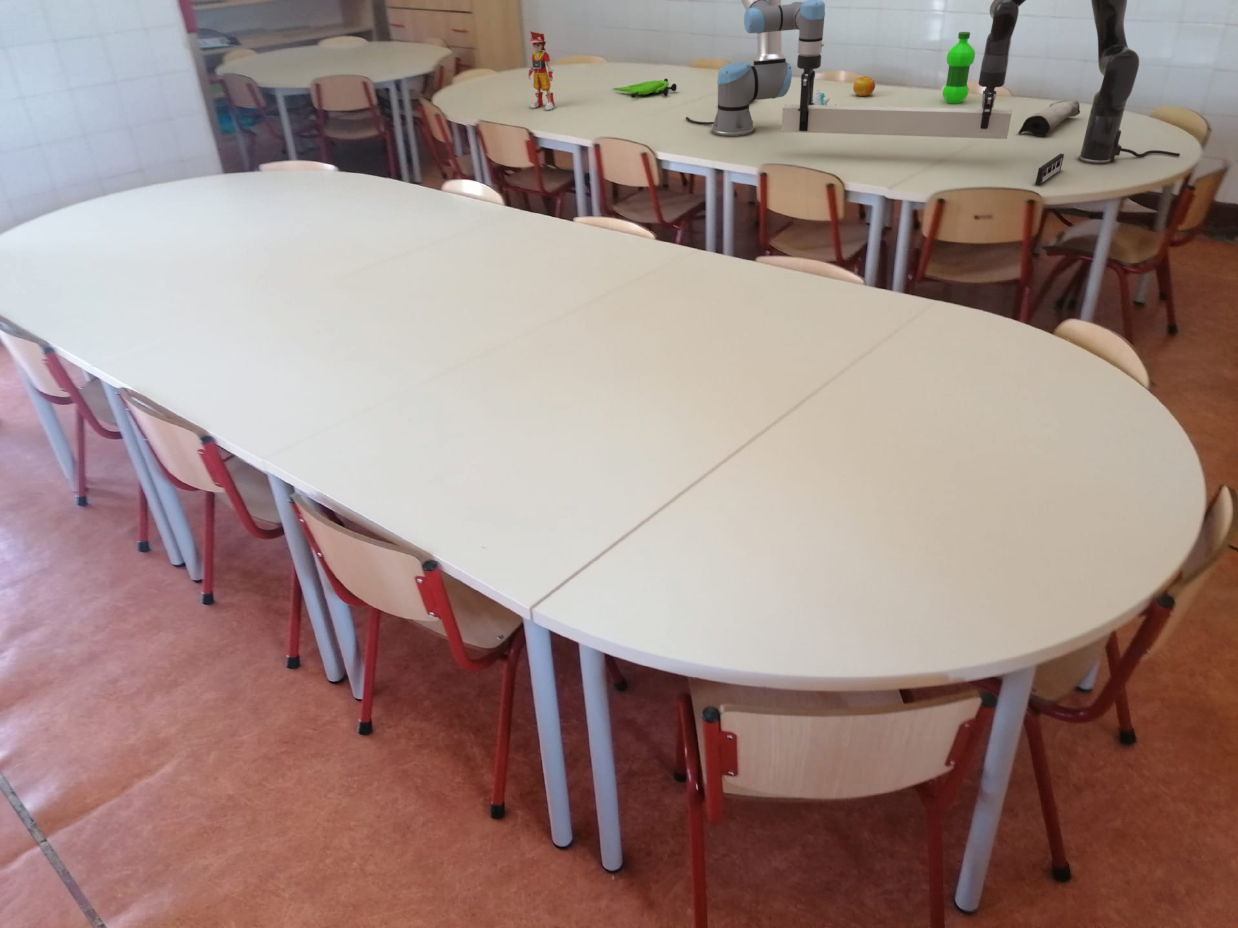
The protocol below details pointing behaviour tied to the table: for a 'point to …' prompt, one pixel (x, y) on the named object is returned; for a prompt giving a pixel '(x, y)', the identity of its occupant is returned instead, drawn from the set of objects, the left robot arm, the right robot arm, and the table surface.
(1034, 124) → the rolled mat
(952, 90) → the plastic bottle
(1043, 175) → the midi keyboard
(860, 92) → the fruit
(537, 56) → the toy
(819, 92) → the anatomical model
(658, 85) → the toy
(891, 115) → the bar
